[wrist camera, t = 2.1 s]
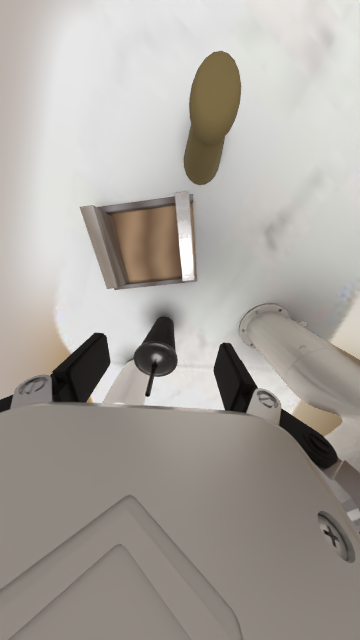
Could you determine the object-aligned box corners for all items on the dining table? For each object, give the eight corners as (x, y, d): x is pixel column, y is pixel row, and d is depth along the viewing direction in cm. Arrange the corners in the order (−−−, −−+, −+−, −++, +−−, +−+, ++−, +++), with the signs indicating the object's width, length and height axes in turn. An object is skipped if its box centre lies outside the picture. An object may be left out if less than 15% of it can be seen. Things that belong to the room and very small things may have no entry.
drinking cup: (148, 311, 34) (112, 373, 16) (178, 311, 34) (176, 374, 16) (151, 337, 37) (123, 412, 19) (178, 337, 37) (176, 413, 19)
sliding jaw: (187, 205, 24) (188, 190, 19) (191, 275, 29) (194, 279, 24) (176, 207, 24) (174, 192, 19) (182, 276, 29) (182, 281, 24)
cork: (176, 164, 23) (172, 92, 13) (201, 121, 21) (219, -3, 11) (202, 194, 24) (217, 150, 14) (227, 157, 22) (265, 77, 12)
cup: (122, 361, 41) (93, 412, 28) (141, 352, 40) (121, 400, 26) (136, 376, 44) (117, 429, 30) (155, 368, 42) (143, 420, 29)
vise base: (191, 199, 25) (195, 179, 18) (195, 279, 31) (199, 285, 24) (97, 212, 26) (69, 197, 19) (119, 287, 32) (104, 295, 25)
